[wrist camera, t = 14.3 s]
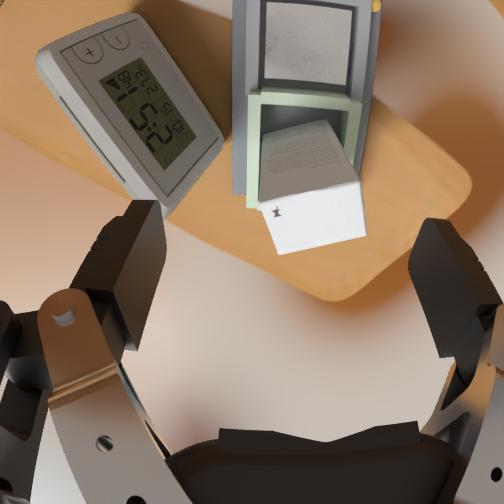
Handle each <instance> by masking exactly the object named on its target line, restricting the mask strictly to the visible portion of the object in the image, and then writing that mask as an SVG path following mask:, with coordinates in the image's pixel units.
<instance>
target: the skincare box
mask: <svg viewBox="0 0 504 504" xmlns="http://www.w3.org/2000/svg"><path fill="white" fill-rule="evenodd" d="M259 205H260V208H261V210H262V213H263V215H264V218H265V220H266V223H267V226H268V228H269V231H270V234H271V236H272V239H273V241H274V244H275V247H276V250H277V252H278V254H279V255H282V254H287V253H291V252H295V251H300V250H304V249H309V248H313V247H318V246H322V245H327V244H331V243H336V242H340V241H345V240H349V239H354V238H358V237H363V236H366V235H367V228H366V218H365V209H364V200H363V193H362V185H361V180H360V179H359V177H358V175H357V173H356V171H355V169H354V168H353V166H352V164H351V162H350V160H349V158H348V156H347V155H346V153H345V151H344V149H343V147H342V145H341V143H340V142H339V140H338V138H337V136H336V134H335V132H334V131H333V129H332V127H331V125H330V124H329V122H328V120H327V119H323V120H319V121H314V122H310V123H305V124H301V125H297V126H293V127H289V128H285V129H281V130H277V131H273V132H269V133H265V134H263V135H262V154H261V175H260V196H259Z"/></svg>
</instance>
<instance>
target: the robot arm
mask: <svg viewBox="0 0 504 504" xmlns="http://www.w3.org/2000/svg"><path fill="white" fill-rule="evenodd" d="M2 1H3V0H0V5H1V3H2ZM166 247H167V245H166V237H165V231H164V225H163V218H162V211H161V205H160V202H159V201H158V200H133V201H132V202H131V203H130V205H129V207H128V208H127V210H126V212H125V213H124V215H123V216H116V217H115V218H113V219H112V220H111V221H110V222H109V223H107V224H106V225H105V226H104V227H103V228H102V230H101V232H100V234H99V235H98V237H97V240H96V241H95V242H94V244H93V245H92V247H91V251H89V252H88V254H87V256H86V257H85V259H84V261H83V263H82V264H81V266H80V268H79V270H78V272H77V274H76V276H75V277H74V279H73V281H72V283H71V285H70V287H69V288H68V289H63V290H60V291H58V292H55V293H53V294H52V295H50V296H49V297H48V298H47V299H46V300H45V301H44V302H43V304H42V305H41V307H40V309H39V310H38V311H32V312H26V313H19V314H14V313H13V311H12V310H11V308H10V307H9V305H8V304H7V303H6V302H4V301H1V300H0V385H1V381H2V379H3V376H4V375H5V376H6V377H7V378H8V381H7V384H6V387H5V390H4V393H3V396H2V399H1V402H0V504H30V497H31V490H32V483H33V477H34V471H35V466H36V461H37V456H38V450H39V445H40V441H41V437H42V432H43V428H44V423H45V419H46V415H47V412H48V408H49V409H50V413H51V416H52V419H53V422H54V425H55V428H56V431H57V434H58V437H59V440H60V443H61V445H62V448H63V450H64V453H65V456H66V458H67V461H68V463H69V466H70V468H71V471H72V473H73V475H74V478H75V480H76V482H77V484H78V486H79V489H80V491H81V493H82V495H83V497H84V499H85V501H86V503H87V504H504V304H503V302H502V300H501V298H500V296H499V294H498V293H497V290H496V289H495V287H494V285H493V283H492V281H491V280H490V278H489V276H488V274H487V273H486V271H484V267H483V266H482V264H481V262H480V261H478V257H477V256H476V255H475V253H474V251H473V249H472V248H471V247H470V246H469V245H468V244H467V243H466V242H465V241H464V240H463V239H462V238H461V237H460V236H459V234H458V233H457V231H456V229H455V228H454V226H453V225H452V223H451V222H450V221H449V220H445V219H436V218H426V219H425V220H424V222H423V224H422V226H421V229H420V231H419V234H418V236H417V239H416V241H415V244H414V246H413V249H412V251H411V253H410V256H409V261H408V270H409V274H410V277H411V280H412V282H413V285H414V287H415V290H416V292H417V295H418V297H419V300H420V302H421V305H422V308H423V311H424V313H425V316H426V319H427V322H428V324H429V327H430V330H431V333H432V336H433V339H434V342H435V345H436V348H437V351H438V354H439V357H440V358H445V357H454V358H455V362H454V363H453V365H452V366H451V368H450V370H449V373H448V376H447V378H446V381H445V384H444V387H443V389H442V392H441V394H440V397H439V399H438V402H437V404H436V407H435V409H434V411H433V414H432V416H431V417H430V419H429V420H428V422H427V423H426V424H425V426H424V427H423V428H422V429H421V431H420V432H419V428H418V422H417V421H412V422H406V423H398V424H391V425H383V426H375V427H372V428H369V429H367V430H364V431H361V432H358V433H355V434H353V435H350V436H347V437H344V438H341V439H338V440H334V441H331V442H320V441H314V440H310V439H305V438H300V437H296V436H291V435H287V434H283V433H279V432H275V431H259V430H238V429H223V428H220V429H219V438H218V439H214V440H208V441H204V442H201V443H197V444H194V445H192V446H189V447H187V448H184V449H182V450H181V451H178V452H176V453H174V454H173V455H172V454H171V452H170V450H169V449H168V447H167V445H166V444H165V442H164V441H163V439H162V437H161V436H160V434H159V432H158V431H157V429H156V428H155V426H154V424H153V423H152V421H151V419H150V418H149V416H148V414H147V413H146V410H145V409H144V407H143V405H142V403H141V401H140V399H139V397H138V395H137V394H136V391H135V389H134V388H133V385H132V383H131V382H130V380H129V377H128V376H127V373H126V371H125V369H124V367H123V365H122V363H121V358H122V355H123V352H124V349H125V350H132V351H138V348H139V344H140V340H141V337H142V334H143V330H144V327H145V324H146V320H147V317H148V314H149V310H150V307H151V304H152V301H153V297H154V294H155V291H156V288H157V285H158V282H159V278H160V276H161V272H162V269H163V267H164V264H165V260H166V252H167V248H166ZM53 391H54V392H53Z"/></svg>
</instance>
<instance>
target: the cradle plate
mask: <svg viewBox="0 0 504 504" xmlns="http://www.w3.org/2000/svg"><path fill="white" fill-rule="evenodd" d="M351 19H352V11H349V10H343V9H337V8H330V7H322V6H313V5H303V4H292V3H275V2H267V12H266V46H265V77H264V78H272V79H289V80H302V81H313V82H323V83H332V84H340V85H346V76H347V66H348V56H349V44H350V32H351Z"/></svg>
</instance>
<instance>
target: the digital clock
mask: <svg viewBox="0 0 504 504" xmlns="http://www.w3.org/2000/svg"><path fill="white" fill-rule="evenodd" d="M35 66H36V69H37V72H38V73H39V75H40V77H41V78H42V80H43V81H44V83H45V84H46V86H47V87H48V89H49V90H50V92H51V93H52V95H53V96H54V97H55V99H56V100H57V103H58V104H59V105H60V107H61V108H62V109H63V111H64V112H65V114H66V115H67V116H68V118H69V119H70V120H71V122H72V123H73V124H74V126H75V127H76V128H77V130H78V131H79V132H80V134H81V135H82V136H83V138H84V139H85V140H86V142H87V143H88V144H89V146H90V147H91V148H92V149H93V151H94V152H95V153H96V155H97V156H98V157H99V159H100V160H101V161H102V162H103V164H104V165H105V166H106V167H107V169H108V170H109V171H110V173H111V174H112V175H113V176H114V178H115V179H116V180H117V181H118V183H119V184H120V185H121V186H122V187H123V188H124V189H125V190H126V192H127V193H128V194H129V195H130V196H131V198H132V199H133V200H158V201H159V202H160V205H161V211H162V218H163V220H164V219H166V218H167V217H168V216H169V215H170V214H171V213H172V212H173V211H174V210H175V208H176V207H177V206H178V205H179V203H180V202H181V201H182V199H183V198H184V197H185V195H186V194H187V193H188V192H189V190H190V189H191V188H192V187H193V185H194V184H195V183H196V181H197V180H198V179H199V178H200V176H201V175H202V174H203V173H204V171H205V170H206V169H207V168H208V167H209V165H210V164H211V163H212V162H213V160H214V159H215V158H216V157H217V156H218V154H219V153H220V151H221V149H222V147H223V143H224V137H223V135H222V133H221V131H220V130H219V128H218V126H217V125H216V123H215V122H214V120H213V119H212V117H211V115H210V114H209V112H208V111H207V109H206V108H205V106H204V105H203V103H202V102H201V100H200V99H199V97H198V96H197V94H196V93H195V91H194V90H193V88H192V87H191V85H190V84H189V82H188V81H187V80H186V78H185V77H184V75H183V74H182V72H181V71H180V69H179V68H178V66H177V65H176V63H175V62H174V61H173V59H172V58H171V56H170V55H169V53H168V52H167V50H166V49H165V48H164V46H163V45H162V43H161V42H160V40H159V39H158V38H157V36H156V35H155V33H154V32H153V31H152V29H151V28H150V26H149V25H148V24H147V22H146V21H145V20H144V19H143V17H142V16H141V15H139V14H137V13H124V14H120V15H117V16H114V17H111V18H108V19H106V20H103V21H100V22H98V23H95V24H93V25H90V26H87V27H85V28H83V29H80V30H78V31H75V32H73V33H71V34H69V35H66V36H64V37H62V38H60V39H58V40H55V41H53V42H52V43H50V44H48V45H46V46H44V47H43V48H41V49H40V50H39V51H38V52H37V54H36V57H35Z"/></svg>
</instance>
